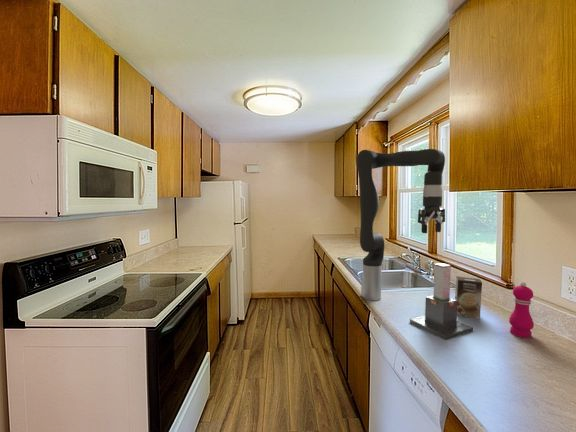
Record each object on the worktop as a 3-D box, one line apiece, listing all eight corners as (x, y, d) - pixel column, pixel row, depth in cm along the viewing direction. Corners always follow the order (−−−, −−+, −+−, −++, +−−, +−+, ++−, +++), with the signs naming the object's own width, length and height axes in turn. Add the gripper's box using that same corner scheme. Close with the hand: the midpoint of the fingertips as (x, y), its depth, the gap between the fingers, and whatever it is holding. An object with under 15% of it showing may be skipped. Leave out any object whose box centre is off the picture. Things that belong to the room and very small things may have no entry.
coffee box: (455, 315, 126) (457, 279, 125) (454, 310, 132) (455, 276, 131) (480, 319, 122) (482, 282, 121) (478, 314, 128) (479, 278, 127)
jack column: (432, 308, 116) (434, 264, 115) (439, 307, 118) (441, 263, 116) (442, 312, 112) (443, 266, 111) (449, 310, 114) (451, 265, 113)
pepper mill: (537, 339, 105) (540, 285, 104) (515, 337, 106) (518, 284, 105) (525, 330, 112) (528, 280, 111) (504, 328, 113) (507, 278, 112)
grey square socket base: (409, 322, 119) (410, 295, 118) (436, 315, 126) (437, 289, 125) (445, 339, 105) (446, 308, 104) (473, 331, 111) (474, 302, 111)
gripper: (436, 195, 133) (434, 230, 134) (413, 195, 127) (412, 232, 128) (451, 195, 126) (449, 232, 127) (428, 195, 120) (427, 234, 121)
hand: (431, 232), depth 127 cm, fingers open, 8 cm apart
